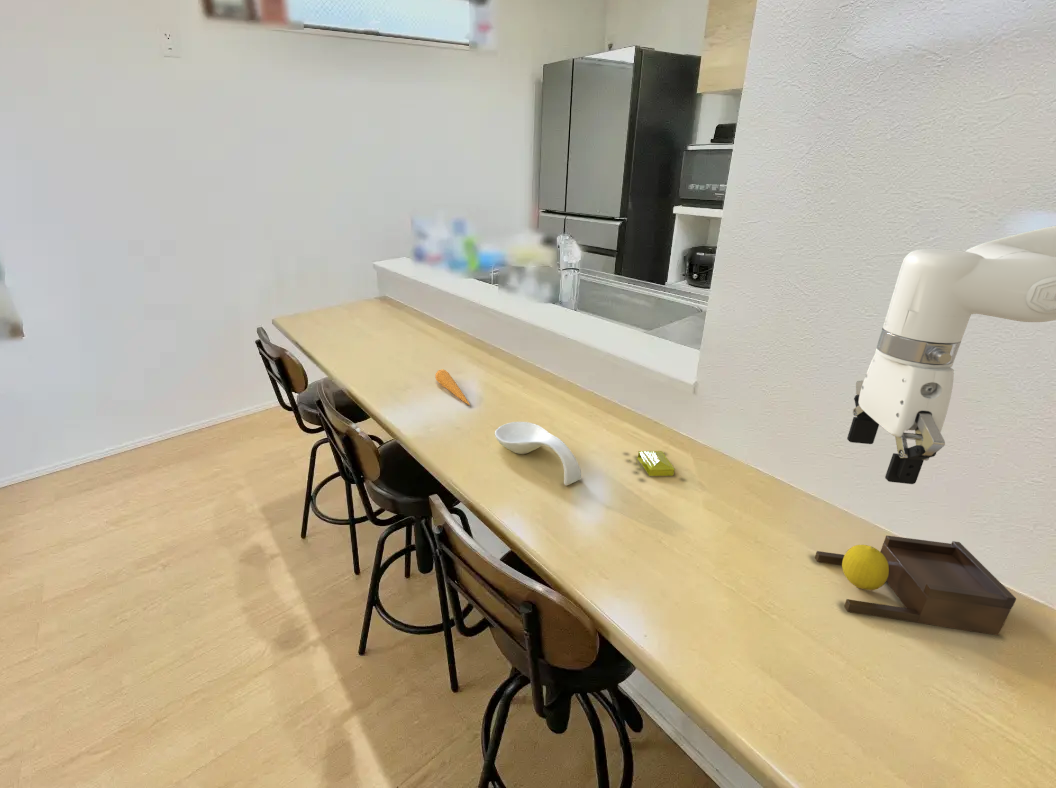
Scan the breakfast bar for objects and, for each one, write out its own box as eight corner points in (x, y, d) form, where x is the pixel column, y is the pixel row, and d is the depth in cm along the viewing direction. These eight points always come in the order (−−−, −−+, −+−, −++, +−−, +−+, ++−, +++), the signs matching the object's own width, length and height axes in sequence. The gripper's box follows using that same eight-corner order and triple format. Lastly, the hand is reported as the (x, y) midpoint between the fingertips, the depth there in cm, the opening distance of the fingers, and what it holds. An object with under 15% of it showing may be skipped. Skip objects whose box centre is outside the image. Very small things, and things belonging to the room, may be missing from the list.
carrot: (436, 382, 154) (431, 372, 151) (448, 375, 155) (443, 364, 152) (466, 415, 138) (461, 404, 135) (479, 407, 139) (475, 395, 136)
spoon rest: (485, 443, 120) (485, 417, 117) (521, 428, 126) (522, 403, 123) (555, 494, 101) (557, 464, 99) (593, 474, 107) (596, 445, 105)
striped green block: (683, 479, 105) (685, 468, 104) (640, 480, 105) (642, 468, 104) (664, 453, 115) (666, 442, 114) (625, 454, 115) (626, 443, 114)
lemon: (828, 578, 80) (841, 539, 78) (853, 570, 82) (866, 531, 79) (863, 605, 75) (878, 564, 73) (889, 596, 77) (904, 556, 74)
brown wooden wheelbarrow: (945, 575, 81) (959, 541, 78) (998, 635, 70) (1016, 598, 68) (814, 557, 85) (824, 524, 82) (847, 611, 74) (859, 575, 72)
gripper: (1005, 376, 55) (953, 504, 60) (907, 327, 70) (874, 432, 76) (926, 371, 56) (883, 496, 62) (848, 324, 72) (819, 427, 78)
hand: (878, 460), depth 69 cm, fingers open, 9 cm apart
